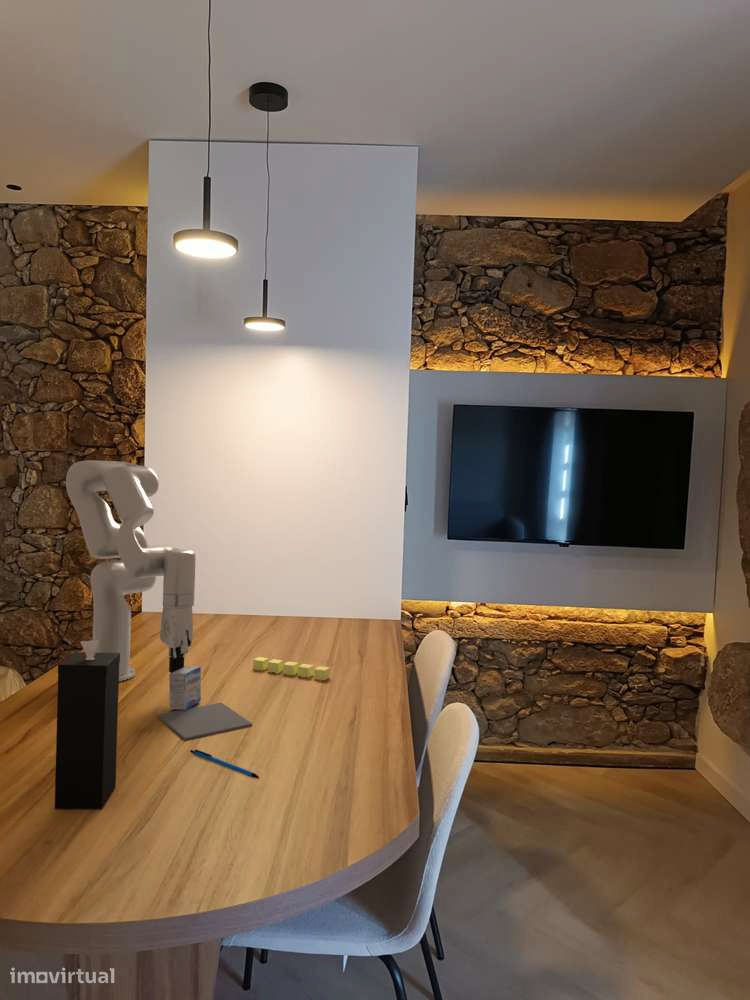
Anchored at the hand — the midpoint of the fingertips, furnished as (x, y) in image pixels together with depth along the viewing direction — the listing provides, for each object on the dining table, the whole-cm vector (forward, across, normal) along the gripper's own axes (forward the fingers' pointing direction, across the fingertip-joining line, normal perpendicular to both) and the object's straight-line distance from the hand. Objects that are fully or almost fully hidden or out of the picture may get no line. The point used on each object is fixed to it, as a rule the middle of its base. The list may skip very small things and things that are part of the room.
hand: (176, 672), depth 168 cm
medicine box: (+7, +6, 0) cm, 9 cm away
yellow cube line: (+8, -6, +37) cm, 38 cm away
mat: (+7, +17, 0) cm, 19 cm away
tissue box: (+7, +40, -32) cm, 52 cm away
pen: (+8, +40, -6) cm, 41 cm away
